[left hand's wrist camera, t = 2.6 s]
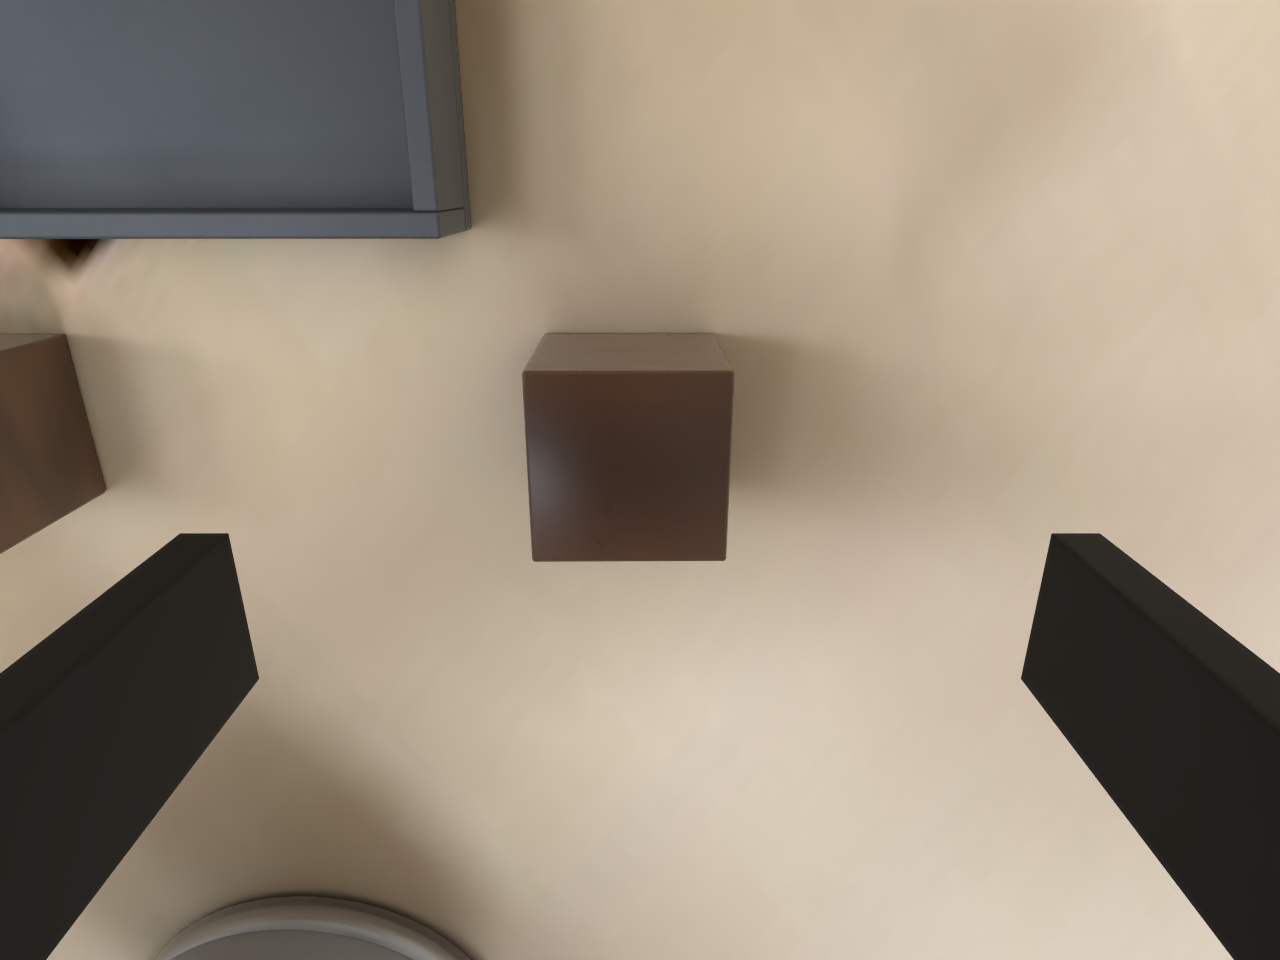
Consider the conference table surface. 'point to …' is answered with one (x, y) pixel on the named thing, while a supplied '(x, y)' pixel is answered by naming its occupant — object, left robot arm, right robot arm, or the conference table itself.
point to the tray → (231, 120)
